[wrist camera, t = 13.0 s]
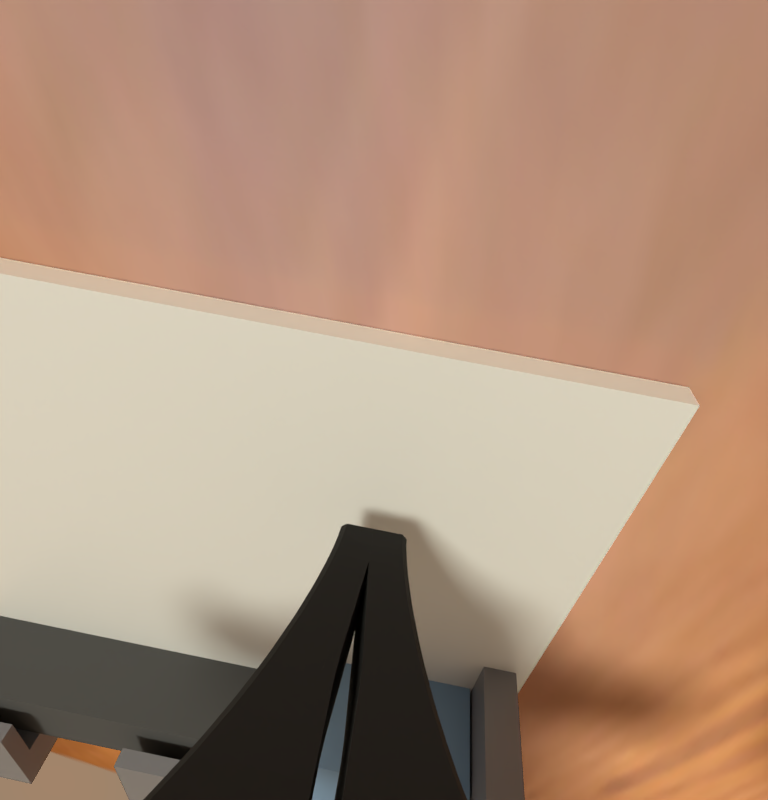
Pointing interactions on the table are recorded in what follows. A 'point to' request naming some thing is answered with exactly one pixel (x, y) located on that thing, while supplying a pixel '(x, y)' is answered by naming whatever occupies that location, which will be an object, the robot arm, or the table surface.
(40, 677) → the grey long block
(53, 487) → the board
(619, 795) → the table surface
